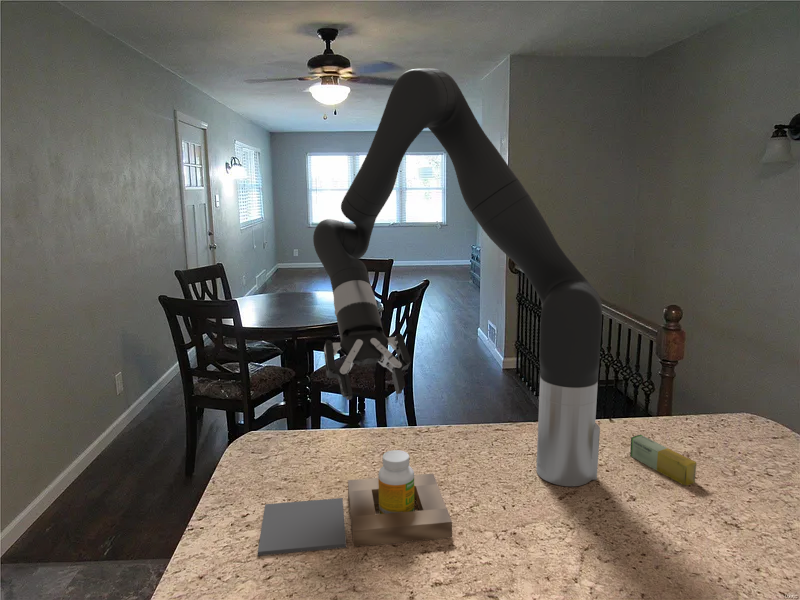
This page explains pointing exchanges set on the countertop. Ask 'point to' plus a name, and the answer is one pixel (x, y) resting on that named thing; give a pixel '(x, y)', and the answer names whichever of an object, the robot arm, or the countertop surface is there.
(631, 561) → the countertop surface
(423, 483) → the walnut socket
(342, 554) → the countertop surface
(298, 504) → the rubber mat
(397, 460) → the supplement bottle
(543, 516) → the countertop surface
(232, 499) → the countertop surface
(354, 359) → the robot arm
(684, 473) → the medication box
